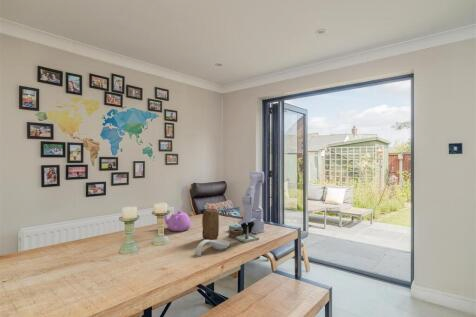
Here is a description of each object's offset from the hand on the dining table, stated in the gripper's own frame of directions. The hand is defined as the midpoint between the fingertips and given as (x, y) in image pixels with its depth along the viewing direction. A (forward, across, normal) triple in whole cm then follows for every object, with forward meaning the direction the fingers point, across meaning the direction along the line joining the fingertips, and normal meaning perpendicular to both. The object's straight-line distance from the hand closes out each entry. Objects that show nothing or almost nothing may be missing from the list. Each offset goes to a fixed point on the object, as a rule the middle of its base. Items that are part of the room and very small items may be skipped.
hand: (247, 233), depth 178 cm
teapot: (+4, +27, -49) cm, 56 cm away
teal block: (+4, -6, -19) cm, 20 cm away
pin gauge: (+3, 0, 0) cm, 3 cm away
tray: (+4, 0, 0) cm, 4 cm away
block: (+4, +21, -13) cm, 25 cm away
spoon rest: (+4, +30, +4) cm, 30 cm away
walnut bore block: (+4, +2, -10) cm, 10 cm away
